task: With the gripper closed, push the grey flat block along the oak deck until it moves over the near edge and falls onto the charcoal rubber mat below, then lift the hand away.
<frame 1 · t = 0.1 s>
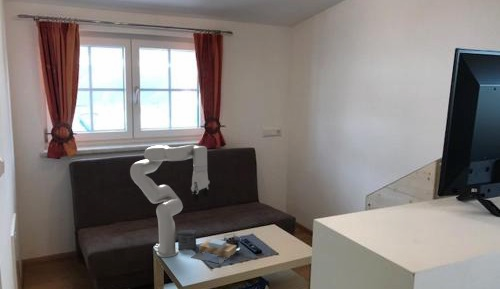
hand: (200, 198, 218), 37 cm above the table, tool pointing down, fingers open, 9 cm apart
deck: (217, 251, 235), on the table
small box: (187, 248, 241), on the table
mat: (209, 257, 227), on the table
grey flat block: (217, 245, 234), point 4 cm above the table, touching deck
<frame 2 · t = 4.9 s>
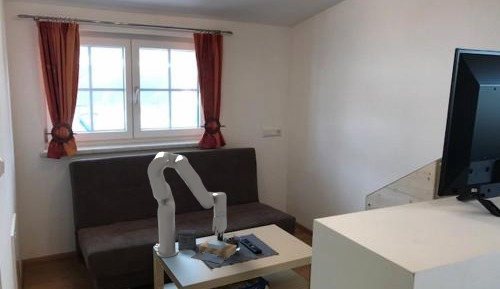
hand: (220, 242, 237), 5 cm above the table, tool pointing down, fingers closed
grey flat block: (216, 246, 233), point 4 cm above the table
everything else where it was.
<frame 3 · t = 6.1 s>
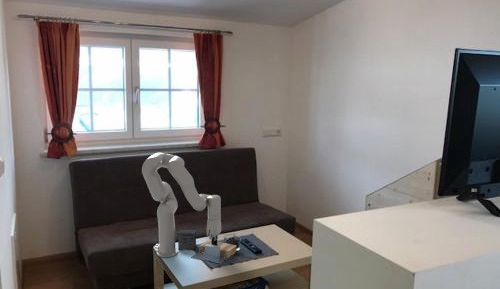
hand: (214, 246, 231), 5 cm above the table, tool pointing down, fingers closed
grey flat block: (213, 249, 230), point 3 cm above the table, tilted 92°, touching gripper, mat
everything else where it was.
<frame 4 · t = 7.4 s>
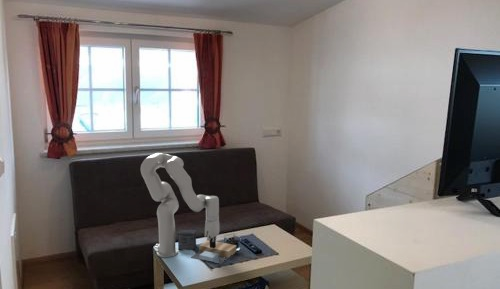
hand: (212, 247, 229), 5 cm above the table, tool pointing down, fingers closed
grey flat block: (208, 254, 225), point 3 cm above the table, tilted 180°, touching mat
everything else where it was.
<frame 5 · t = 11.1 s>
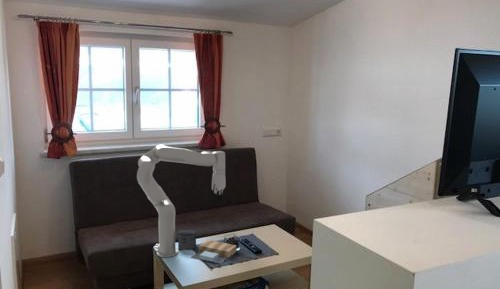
hand: (219, 200, 241), 29 cm above the table, tool pointing down, fingers closed
nothing on the table moved.
at the end: grey flat block point 2.8 cm above the table; grey flat block inside the target area on the mat (1.3 cm from its centre), point 2.8 cm above the mat's base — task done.
